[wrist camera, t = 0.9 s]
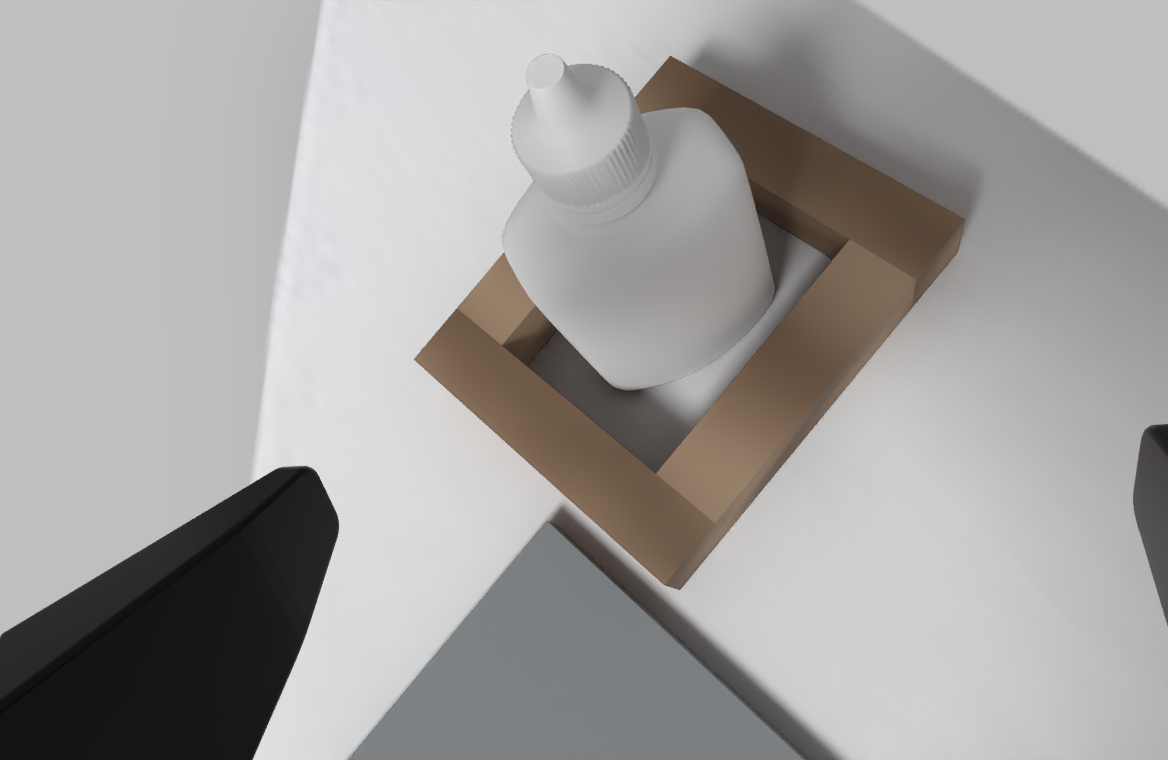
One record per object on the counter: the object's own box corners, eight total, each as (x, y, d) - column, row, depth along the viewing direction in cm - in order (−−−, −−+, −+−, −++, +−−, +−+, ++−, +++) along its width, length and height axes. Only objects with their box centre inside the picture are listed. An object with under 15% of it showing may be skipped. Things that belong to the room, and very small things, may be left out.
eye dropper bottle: (593, 263, 27) (407, -3, 16) (774, 243, 25) (707, -69, 14) (590, 396, 25) (385, 207, 15) (781, 384, 24) (713, 161, 13)
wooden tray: (679, 590, 23) (664, 585, 21) (443, 378, 27) (413, 359, 25) (956, 252, 23) (965, 219, 22) (682, 95, 28) (670, 55, 26)
